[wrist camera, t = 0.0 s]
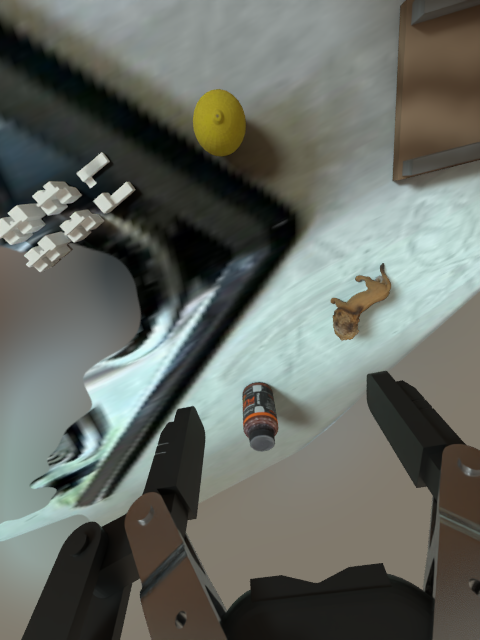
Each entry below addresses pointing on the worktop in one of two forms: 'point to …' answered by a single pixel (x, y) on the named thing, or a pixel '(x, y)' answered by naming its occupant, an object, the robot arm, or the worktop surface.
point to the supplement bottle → (259, 416)
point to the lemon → (219, 122)
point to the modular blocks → (53, 203)
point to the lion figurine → (358, 305)
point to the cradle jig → (437, 86)
